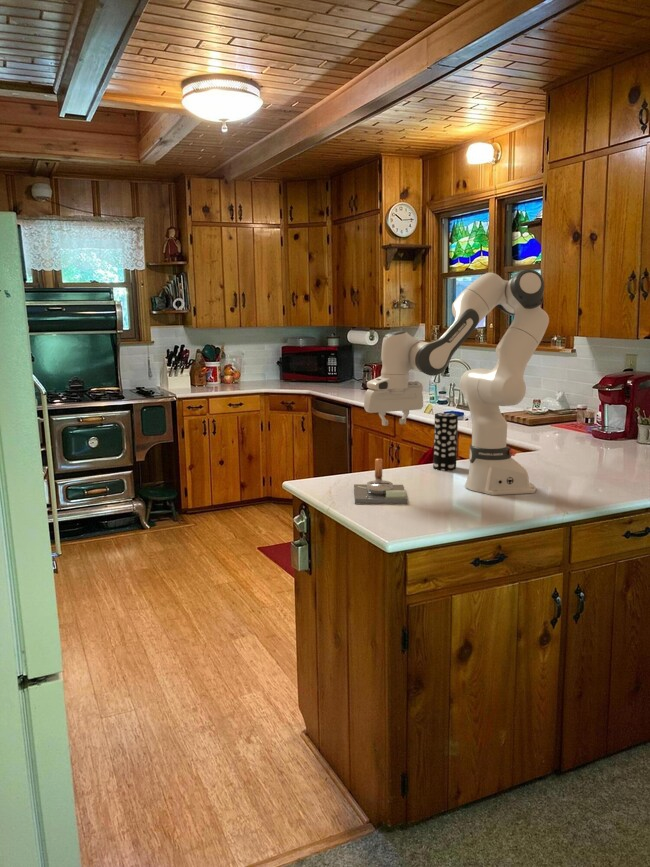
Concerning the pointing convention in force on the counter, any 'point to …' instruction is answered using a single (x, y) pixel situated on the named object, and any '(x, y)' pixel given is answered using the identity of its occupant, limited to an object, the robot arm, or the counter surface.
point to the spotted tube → (445, 441)
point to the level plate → (389, 498)
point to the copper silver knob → (379, 481)
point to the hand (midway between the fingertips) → (393, 424)
